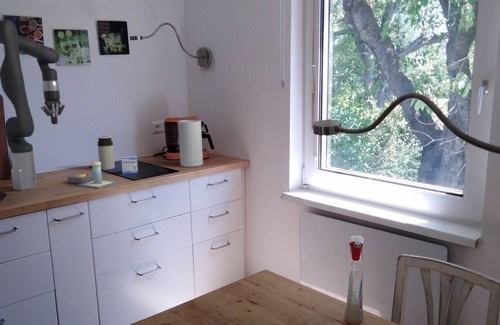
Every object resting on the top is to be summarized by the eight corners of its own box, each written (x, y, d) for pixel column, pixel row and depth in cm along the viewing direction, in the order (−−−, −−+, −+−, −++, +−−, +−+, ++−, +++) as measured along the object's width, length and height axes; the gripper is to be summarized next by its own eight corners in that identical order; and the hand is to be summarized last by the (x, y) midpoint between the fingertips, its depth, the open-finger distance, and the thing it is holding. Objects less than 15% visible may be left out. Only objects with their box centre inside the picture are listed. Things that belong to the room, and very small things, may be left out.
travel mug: (117, 167, 258) (115, 135, 254) (109, 170, 250) (106, 137, 247) (105, 167, 260) (102, 135, 256) (96, 170, 252) (94, 137, 249)
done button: (80, 180, 222) (80, 176, 221) (73, 179, 224) (73, 175, 224) (88, 178, 226) (88, 174, 226) (81, 177, 228) (81, 173, 228)
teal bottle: (97, 184, 215) (95, 163, 213) (91, 183, 217) (89, 163, 215) (104, 182, 219) (102, 162, 217) (98, 181, 221) (96, 161, 219)
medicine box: (122, 174, 239) (121, 158, 238) (122, 172, 244) (121, 156, 242) (137, 173, 241) (136, 157, 240) (137, 171, 246) (136, 155, 244)
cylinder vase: (197, 167, 251) (195, 122, 247) (176, 166, 255) (174, 122, 251) (206, 163, 263) (204, 119, 258) (186, 162, 267) (184, 119, 262)
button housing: (80, 184, 219) (79, 178, 219) (67, 182, 224) (67, 176, 223) (95, 180, 227) (94, 174, 226) (82, 178, 231) (82, 172, 231)
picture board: (98, 188, 210) (98, 187, 210) (77, 185, 217) (77, 184, 216) (117, 183, 220) (117, 181, 220) (97, 180, 227) (97, 179, 227)
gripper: (44, 90, 224) (48, 125, 228) (67, 89, 236) (70, 123, 239) (34, 90, 228) (38, 125, 231) (57, 89, 239) (60, 122, 243)
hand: (54, 124), depth 235 cm, fingers closed
